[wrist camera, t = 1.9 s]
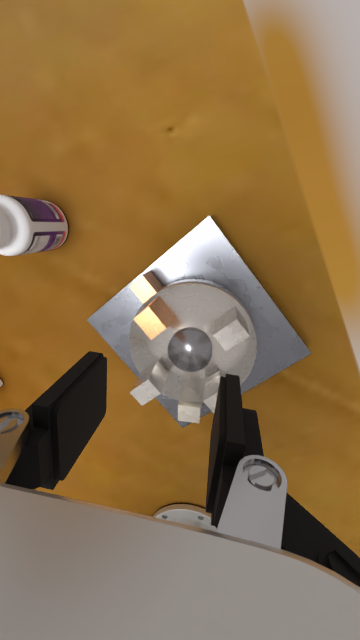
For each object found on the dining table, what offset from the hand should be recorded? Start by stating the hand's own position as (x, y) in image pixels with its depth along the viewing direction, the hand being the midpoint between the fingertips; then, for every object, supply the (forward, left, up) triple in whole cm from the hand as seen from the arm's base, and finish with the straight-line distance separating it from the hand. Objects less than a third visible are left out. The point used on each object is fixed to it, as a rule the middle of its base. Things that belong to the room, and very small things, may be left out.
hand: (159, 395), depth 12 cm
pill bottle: (+16, +10, -22) cm, 29 cm away
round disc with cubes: (-2, +3, -19) cm, 20 cm away
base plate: (-4, +4, -21) cm, 22 cm away
